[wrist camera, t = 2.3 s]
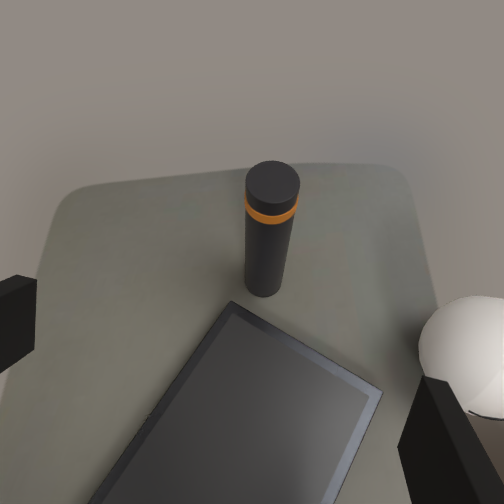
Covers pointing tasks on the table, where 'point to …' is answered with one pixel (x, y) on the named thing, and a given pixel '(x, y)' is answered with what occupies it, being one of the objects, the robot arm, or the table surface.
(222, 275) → the table surface
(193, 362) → the tablet
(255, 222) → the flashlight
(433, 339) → the white sphere
